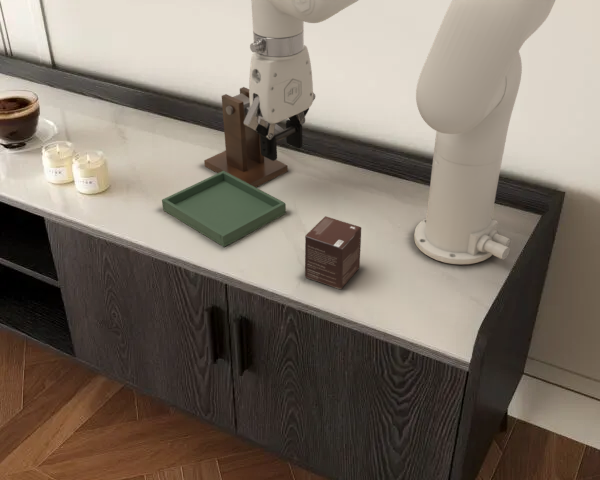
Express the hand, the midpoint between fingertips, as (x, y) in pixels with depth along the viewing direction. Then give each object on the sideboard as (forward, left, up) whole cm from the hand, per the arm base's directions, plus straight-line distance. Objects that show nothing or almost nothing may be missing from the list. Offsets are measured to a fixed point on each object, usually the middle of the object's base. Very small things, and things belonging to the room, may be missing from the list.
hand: (281, 150), depth 125 cm
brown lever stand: (+9, 0, -7) cm, 12 cm away
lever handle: (+5, 0, +3) cm, 6 cm away
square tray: (+1, +12, -7) cm, 14 cm away
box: (-23, +12, -7) cm, 27 cm away
